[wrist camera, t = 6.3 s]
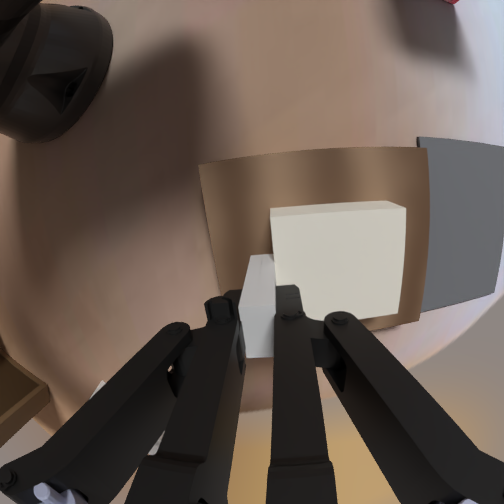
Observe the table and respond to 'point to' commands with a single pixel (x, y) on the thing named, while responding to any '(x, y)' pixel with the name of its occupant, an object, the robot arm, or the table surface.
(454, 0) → the ink box
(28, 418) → the photo frame
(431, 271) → the mat
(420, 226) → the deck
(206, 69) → the table surface
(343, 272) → the cream rectangular block
